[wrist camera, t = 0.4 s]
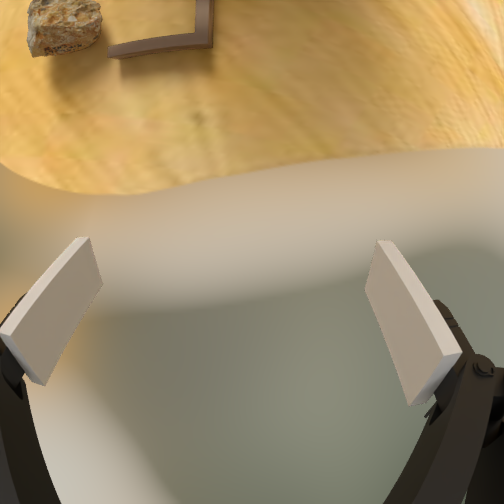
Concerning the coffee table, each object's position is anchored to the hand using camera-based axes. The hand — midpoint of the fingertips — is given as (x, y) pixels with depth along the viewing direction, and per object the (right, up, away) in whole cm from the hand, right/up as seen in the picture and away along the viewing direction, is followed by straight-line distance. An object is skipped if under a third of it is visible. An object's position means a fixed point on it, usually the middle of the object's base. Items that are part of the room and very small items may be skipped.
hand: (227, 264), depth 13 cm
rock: (-22, +33, +13) cm, 42 cm away
